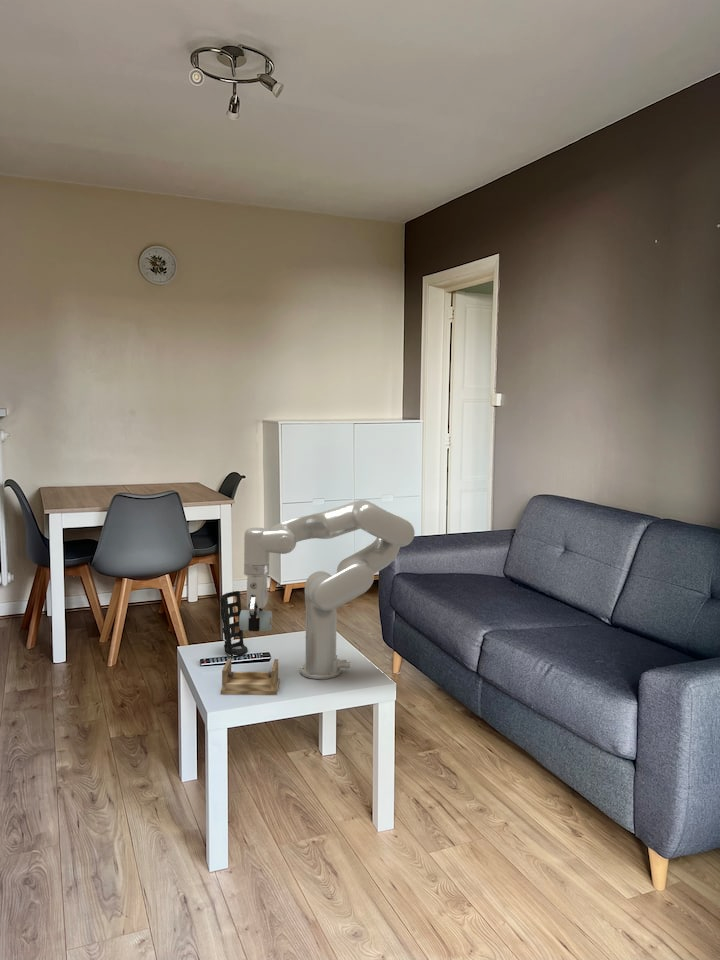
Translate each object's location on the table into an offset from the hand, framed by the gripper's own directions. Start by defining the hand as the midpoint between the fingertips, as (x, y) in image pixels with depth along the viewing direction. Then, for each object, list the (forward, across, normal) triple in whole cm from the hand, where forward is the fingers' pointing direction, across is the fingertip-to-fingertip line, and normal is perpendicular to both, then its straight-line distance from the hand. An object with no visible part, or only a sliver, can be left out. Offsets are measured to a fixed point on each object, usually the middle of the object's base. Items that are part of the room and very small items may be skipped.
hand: (255, 627), depth 219 cm
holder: (+16, +22, +11) cm, 29 cm away
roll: (+1, 0, 0) cm, 1 cm away
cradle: (+16, -8, 0) cm, 18 cm away
